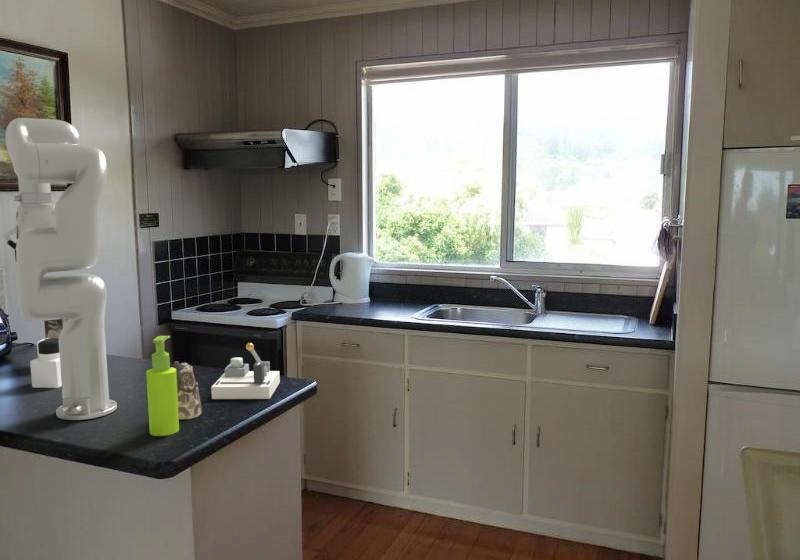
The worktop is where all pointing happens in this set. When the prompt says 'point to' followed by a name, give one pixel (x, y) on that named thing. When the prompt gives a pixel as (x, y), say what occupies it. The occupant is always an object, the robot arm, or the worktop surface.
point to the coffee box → (54, 327)
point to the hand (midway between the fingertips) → (40, 263)
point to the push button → (237, 362)
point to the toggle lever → (253, 352)
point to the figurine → (187, 392)
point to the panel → (245, 384)
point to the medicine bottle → (46, 365)
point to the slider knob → (259, 372)
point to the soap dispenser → (162, 393)
